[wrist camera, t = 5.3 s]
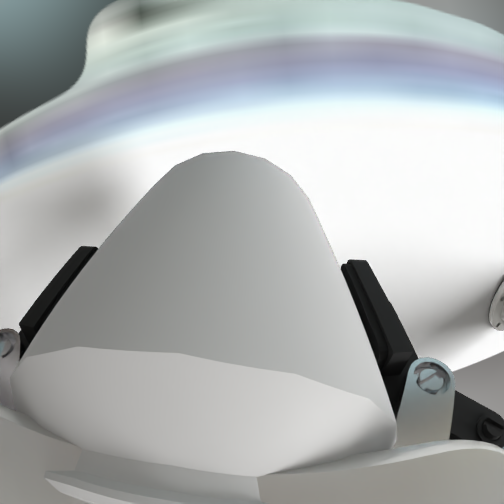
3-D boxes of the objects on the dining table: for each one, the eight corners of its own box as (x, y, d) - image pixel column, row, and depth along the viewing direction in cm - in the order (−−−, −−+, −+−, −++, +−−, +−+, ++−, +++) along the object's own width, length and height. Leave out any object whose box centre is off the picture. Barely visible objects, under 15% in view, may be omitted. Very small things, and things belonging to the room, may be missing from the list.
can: (177, 308, 16) (123, 541, 5) (124, 172, 12) (-90, 409, 2) (321, 284, 15) (381, 541, 5) (299, 129, 11) (536, 442, 1)
